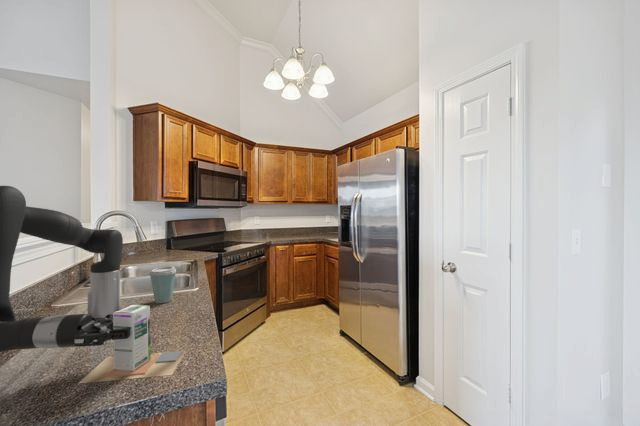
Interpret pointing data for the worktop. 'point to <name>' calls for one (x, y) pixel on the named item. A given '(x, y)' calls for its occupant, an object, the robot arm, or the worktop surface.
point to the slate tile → (169, 356)
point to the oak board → (153, 371)
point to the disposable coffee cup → (163, 283)
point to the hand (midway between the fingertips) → (137, 326)
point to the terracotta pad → (139, 370)
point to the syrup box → (132, 337)
